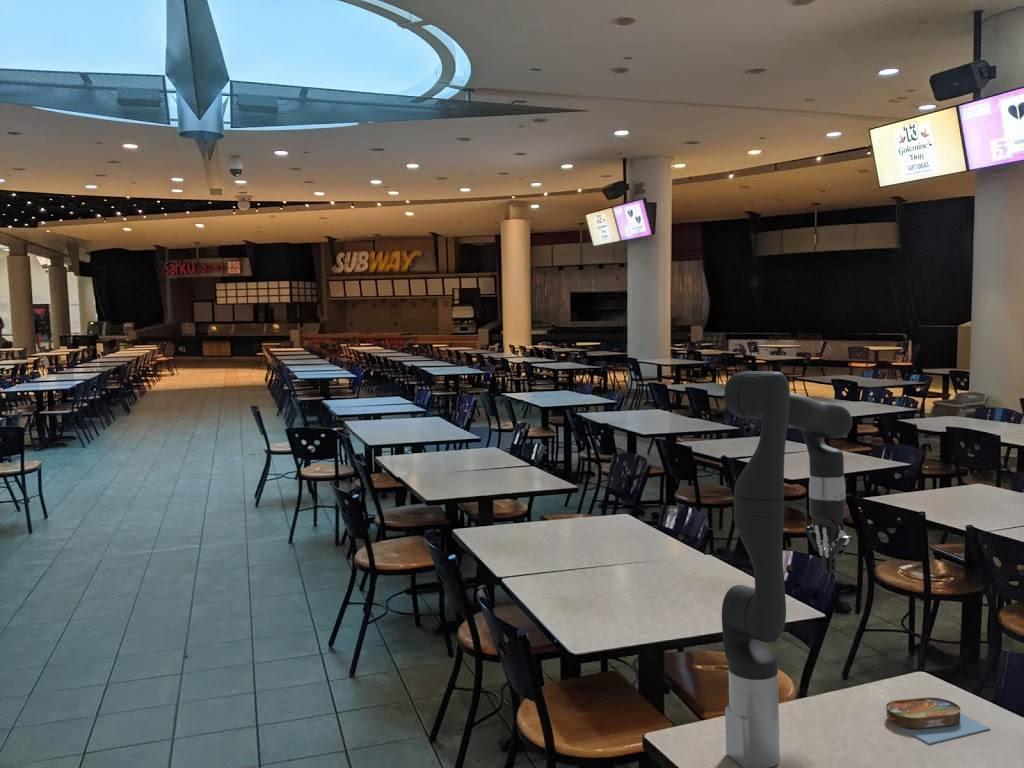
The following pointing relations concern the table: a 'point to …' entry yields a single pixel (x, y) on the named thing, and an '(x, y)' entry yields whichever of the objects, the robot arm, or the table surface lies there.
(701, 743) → the table surface
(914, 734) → the mat
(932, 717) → the tin
